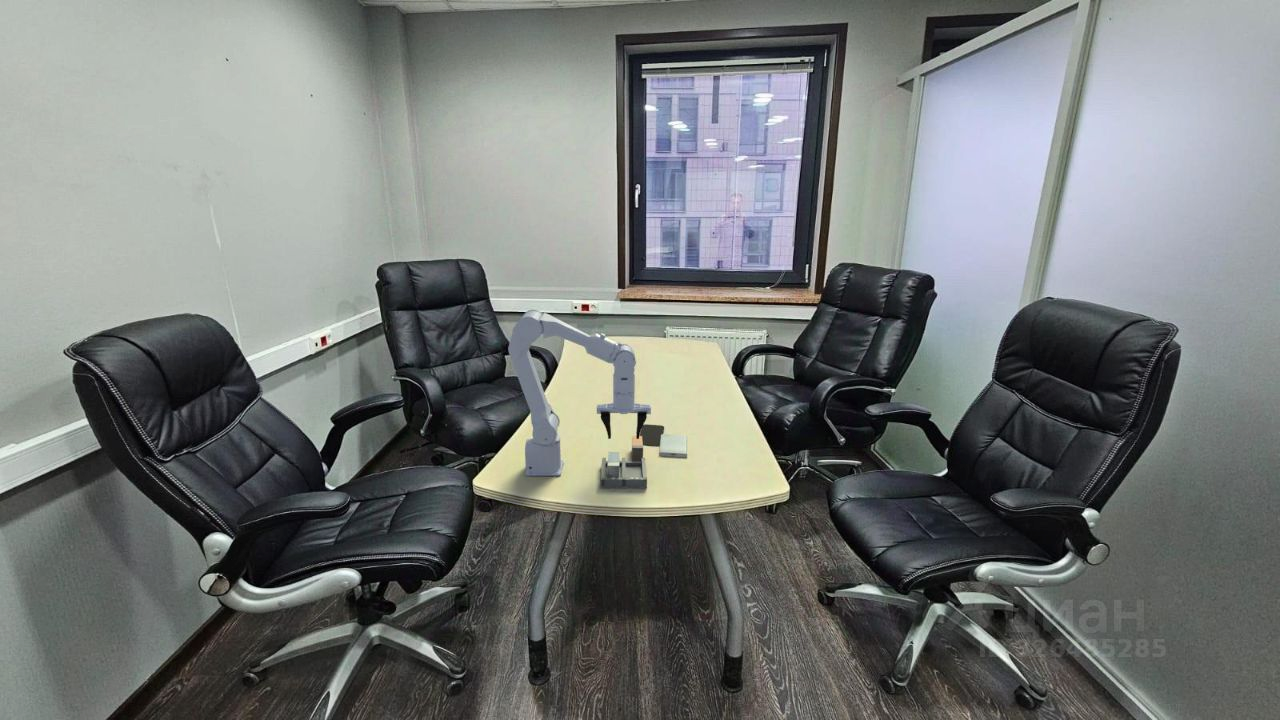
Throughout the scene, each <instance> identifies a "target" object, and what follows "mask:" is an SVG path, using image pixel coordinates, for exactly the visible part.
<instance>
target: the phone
mask: <svg viewBox="0 0 1280 720" xmlns="http://www.w3.org/2000/svg"><path fill="white" fill-rule="evenodd" d="M664 432H665V426H664V425H661V424H649V423H648V424H645V423H644V424H643V426H642V429H641V431H640V435H639V436H642V441H643V447H644V446H646V447H649V446H650V447H660V441H661V435H662V434H665V433H664Z"/></svg>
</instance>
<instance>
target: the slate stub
mask: <svg viewBox="0 0 1280 720" xmlns="http://www.w3.org/2000/svg"><path fill="white" fill-rule="evenodd" d="M607 461H608V465H607V478H619V461H620V451H608V455H607Z"/></svg>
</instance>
